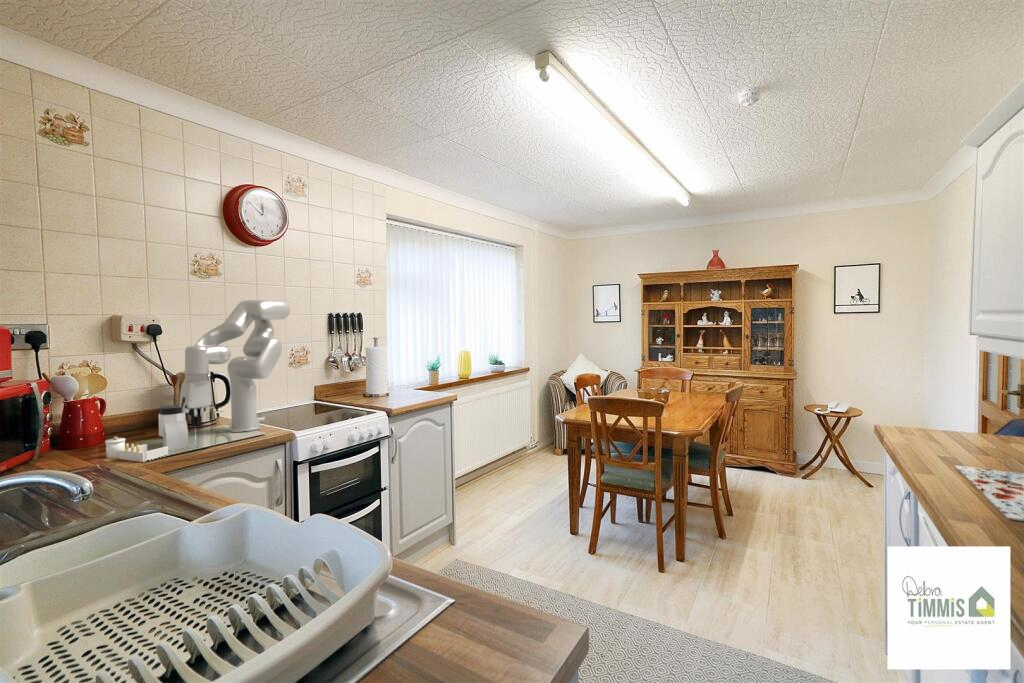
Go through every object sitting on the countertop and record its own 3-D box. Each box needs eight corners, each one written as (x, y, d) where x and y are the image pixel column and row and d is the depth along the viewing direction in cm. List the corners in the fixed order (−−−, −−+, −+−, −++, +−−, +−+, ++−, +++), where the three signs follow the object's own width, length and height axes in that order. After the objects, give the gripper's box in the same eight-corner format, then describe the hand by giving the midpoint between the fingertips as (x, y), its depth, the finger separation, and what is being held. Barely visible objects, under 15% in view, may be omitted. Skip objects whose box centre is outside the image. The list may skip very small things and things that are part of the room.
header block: (145, 452, 167) (145, 437, 167) (168, 455, 164) (168, 439, 164) (119, 459, 159) (118, 443, 159) (143, 462, 156) (142, 445, 155)
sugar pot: (118, 453, 166) (118, 434, 166) (129, 454, 165) (129, 435, 164) (101, 457, 161) (101, 437, 161) (112, 458, 159) (112, 438, 159)
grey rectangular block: (188, 447, 174) (187, 421, 173) (166, 451, 168) (165, 424, 168) (185, 446, 176) (184, 419, 175) (163, 449, 171) (162, 422, 170)
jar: (171, 433, 196) (170, 404, 195) (190, 433, 195) (189, 404, 195) (153, 438, 187) (153, 408, 186) (173, 438, 187) (172, 408, 186)
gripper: (206, 376, 188) (206, 422, 188) (170, 379, 173) (169, 429, 173) (221, 377, 185) (221, 423, 185) (185, 380, 171) (184, 430, 171)
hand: (196, 426), depth 179 cm, fingers closed
